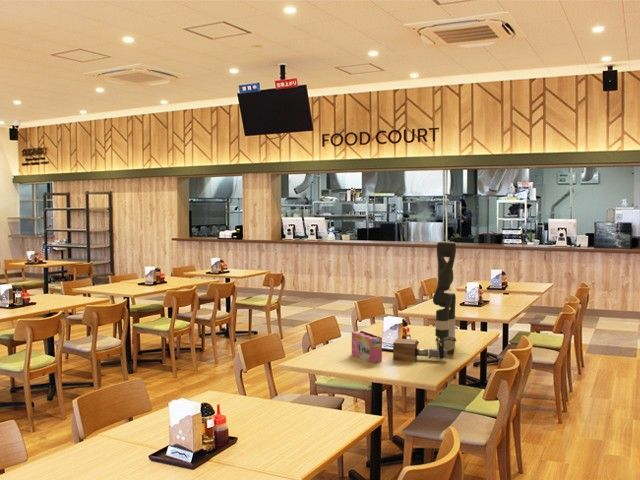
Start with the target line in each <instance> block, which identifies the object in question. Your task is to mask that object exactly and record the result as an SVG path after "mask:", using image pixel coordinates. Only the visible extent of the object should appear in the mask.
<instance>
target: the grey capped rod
mask: <svg viewBox="0 0 640 480" xmlns="http://www.w3.org/2000/svg"><path fill="white" fill-rule="evenodd" d="M415 356H417V357H428V359H432V358H437V359H438V358H439V359H440V352H439V350H438V349H437V348H435V349H434V348H432V347H429V348H428V349H425V348H417V349H415ZM447 358H448V355H447V350H444V358H443V359H447Z"/></svg>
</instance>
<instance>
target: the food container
mask: <svg viewBox="0 0 640 480" xmlns="http://www.w3.org/2000/svg"><path fill="white" fill-rule="evenodd" d="M435 337H436V338H435V341H434V342H436V349H438V350H439V344H438V340H439V339H440V338H439V337H437V336H435ZM445 339H446V346H445V350H447V356H454V355H455V348H456V342H457V338H456V337H455V338H454V337H449V336H448V337H445Z"/></svg>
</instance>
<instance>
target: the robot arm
mask: <svg viewBox="0 0 640 480" xmlns="http://www.w3.org/2000/svg"><path fill="white" fill-rule="evenodd" d="M456 253H457V244H456V242H455V241H447V240H446V241H444V240H443V241H442V240H441V241H438V242H437V244H436V257H437V285H436V288H435V289H436V290H435V292H434V293H433V297H432V303H433V304H434V305H435V306H439V307H440V308H439V309H436V311H435V334H434V335H435V337H439V338H440V339H439V340H438V344H439V352H440V358H439V359H440V360H444V359H445V358H444V350H445V346H446V339H445V337H448V336H449V337H454V338H456V303H457V300H456V299H457V297H456V293H455V292H446V291H449V290H450V288H451V284H453V282H454V270H453V269H454V265H455V260H456V255H457V254H456ZM445 258H449V259H448V261H446V259H445Z"/></svg>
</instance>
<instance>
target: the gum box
mask: <svg viewBox="0 0 640 480" xmlns="http://www.w3.org/2000/svg"><path fill="white" fill-rule="evenodd" d="M382 347H383V338H382V337H381V336H378V335H374V334H372V333H369V332H367V331H364V330H360V331H359V332H358V331H357V332H353V331H351V356H355V357H357V358H359V359H361V360H363V361H365V362H367V363H370V364H371V363H378V362H379V363H380V362H382V360H383V348H382Z"/></svg>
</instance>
